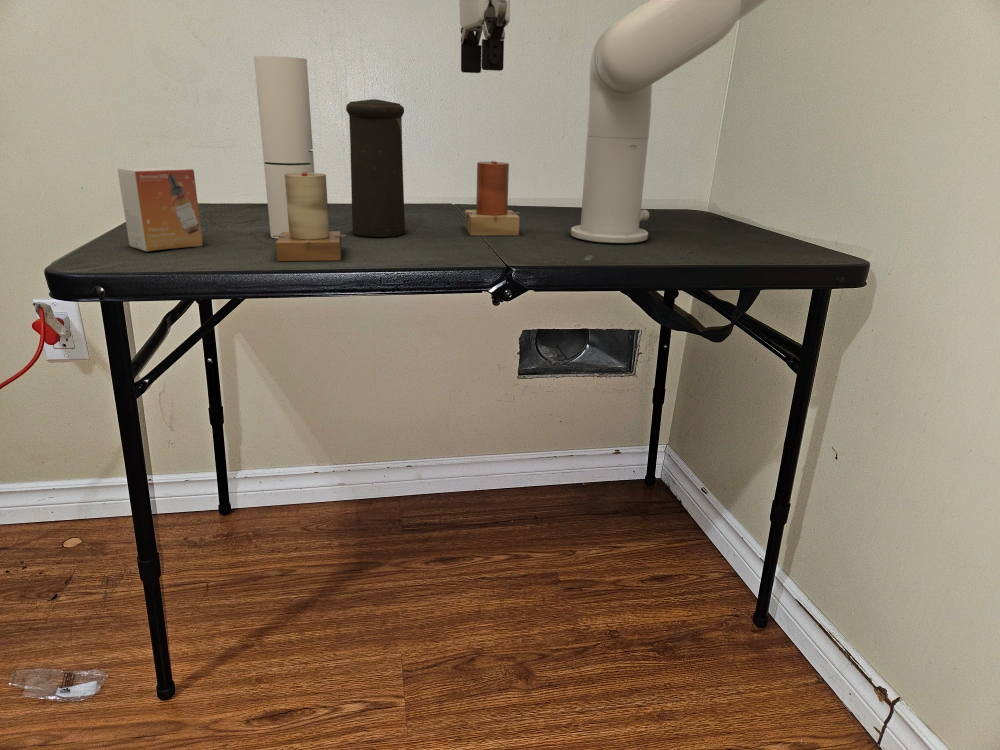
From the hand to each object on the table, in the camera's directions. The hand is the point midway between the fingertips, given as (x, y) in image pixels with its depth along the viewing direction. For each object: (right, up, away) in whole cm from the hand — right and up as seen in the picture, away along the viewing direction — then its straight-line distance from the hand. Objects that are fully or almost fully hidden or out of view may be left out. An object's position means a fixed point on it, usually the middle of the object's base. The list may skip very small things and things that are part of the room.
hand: (481, 71), depth 103 cm
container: (-17, -24, +6) cm, 30 cm away
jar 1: (-23, -28, -12) cm, 38 cm away
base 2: (+1, -22, +11) cm, 25 cm away
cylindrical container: (-29, -25, +2) cm, 38 cm away
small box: (-44, -29, -9) cm, 53 cm away
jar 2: (+2, -19, +10) cm, 22 cm away
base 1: (-23, -30, -11) cm, 39 cm away
